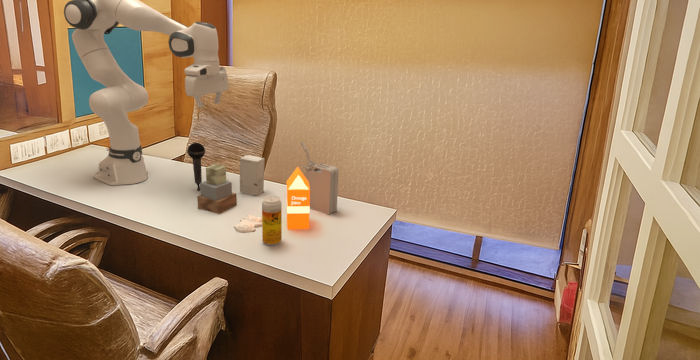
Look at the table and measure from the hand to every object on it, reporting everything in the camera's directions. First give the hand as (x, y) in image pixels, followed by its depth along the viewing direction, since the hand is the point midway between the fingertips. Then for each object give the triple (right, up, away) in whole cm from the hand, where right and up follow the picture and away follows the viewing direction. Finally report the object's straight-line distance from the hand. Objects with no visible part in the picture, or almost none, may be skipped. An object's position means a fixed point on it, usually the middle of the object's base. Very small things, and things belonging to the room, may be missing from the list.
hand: (209, 105), depth 181 cm
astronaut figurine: (+19, -45, -16) cm, 51 cm away
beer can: (+28, -49, -27) cm, 62 cm away
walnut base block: (+4, -39, -2) cm, 39 cm away
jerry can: (+41, -39, +1) cm, 57 cm away
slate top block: (+4, -34, -4) cm, 35 cm away
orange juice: (+35, -44, -13) cm, 58 cm away
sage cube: (+4, -29, -6) cm, 30 cm away
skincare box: (+14, -34, +13) cm, 39 cm away
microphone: (-8, -33, +11) cm, 36 cm away
